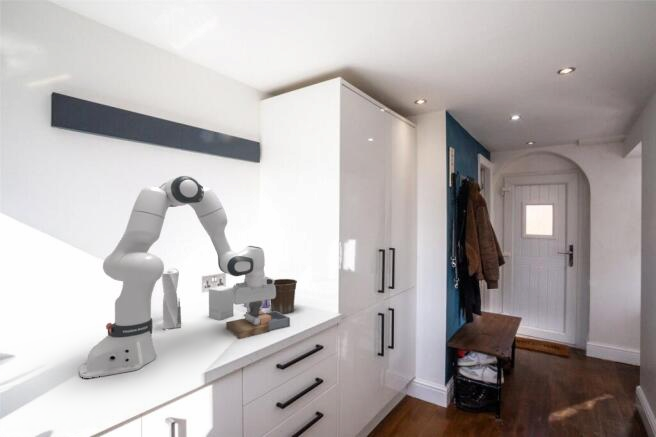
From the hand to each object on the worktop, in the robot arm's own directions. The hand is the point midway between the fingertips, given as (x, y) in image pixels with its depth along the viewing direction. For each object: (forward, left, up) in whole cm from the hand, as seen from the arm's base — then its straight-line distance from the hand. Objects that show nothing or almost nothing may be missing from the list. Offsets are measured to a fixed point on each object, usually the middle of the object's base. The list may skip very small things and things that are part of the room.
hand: (254, 311), depth 148 cm
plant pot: (+23, +17, -8) cm, 30 cm away
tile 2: (+3, -3, -5) cm, 7 cm away
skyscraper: (-31, +25, -8) cm, 40 cm away
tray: (+9, 0, -8) cm, 12 cm away
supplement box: (-7, +27, -8) cm, 29 cm away
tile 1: (+3, +3, -5) cm, 7 cm away
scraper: (-1, 0, -5) cm, 5 cm away
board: (-4, 0, -8) cm, 9 cm away
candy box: (+16, +34, -8) cm, 39 cm away
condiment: (+7, +19, -8) cm, 22 cm away
